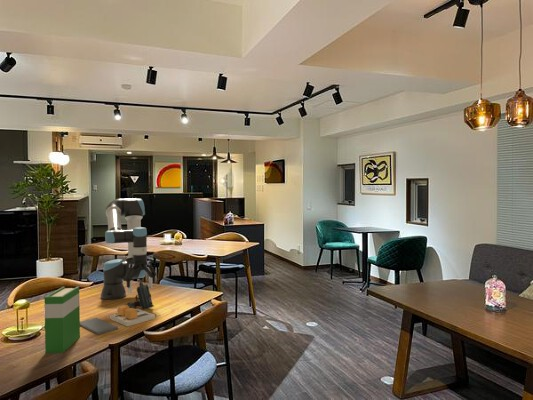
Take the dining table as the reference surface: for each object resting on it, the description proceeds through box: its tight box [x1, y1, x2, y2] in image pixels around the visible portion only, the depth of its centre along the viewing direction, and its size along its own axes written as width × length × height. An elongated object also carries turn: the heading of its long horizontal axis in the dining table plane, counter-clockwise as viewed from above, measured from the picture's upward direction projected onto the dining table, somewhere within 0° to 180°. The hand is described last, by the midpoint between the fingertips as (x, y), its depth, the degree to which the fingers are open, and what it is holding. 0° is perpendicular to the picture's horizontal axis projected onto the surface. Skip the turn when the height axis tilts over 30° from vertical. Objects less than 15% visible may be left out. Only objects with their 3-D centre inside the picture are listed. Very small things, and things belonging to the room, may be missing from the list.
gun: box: [127, 279, 155, 310], centre depth 230 cm, size 3×17×15 cm
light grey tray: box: [109, 308, 156, 327], centre depth 211 cm, size 17×16×2 cm
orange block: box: [125, 307, 137, 319], centre depth 206 cm, size 5×4×4 cm
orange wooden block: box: [116, 304, 130, 316], centre depth 212 cm, size 5×4×4 cm
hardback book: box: [44, 285, 81, 354], centre depth 176 cm, size 18×7×24 cm, turn 4°
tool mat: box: [80, 317, 119, 335], centre depth 200 cm, size 22×10×1 cm, turn 50°
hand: (140, 290), depth 229 cm, fingers open, 13 cm apart
